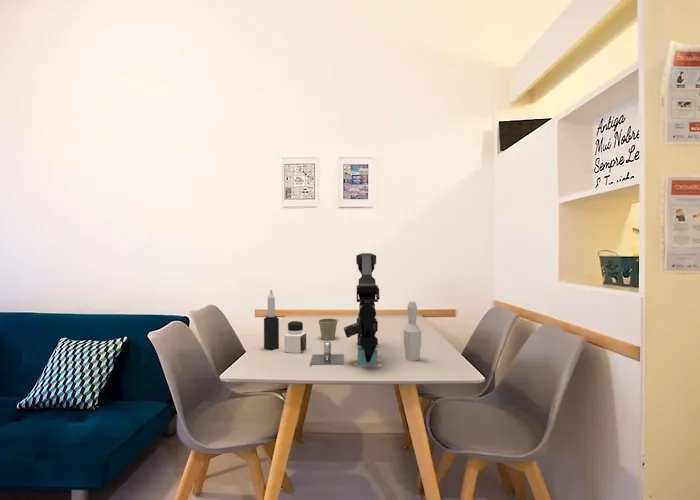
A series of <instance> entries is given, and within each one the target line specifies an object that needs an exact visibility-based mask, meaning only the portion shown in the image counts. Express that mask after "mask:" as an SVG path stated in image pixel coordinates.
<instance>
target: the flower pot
mask: <svg viewBox="0 0 700 500" xmlns="http://www.w3.org/2000/svg"><path fill="white" fill-rule="evenodd" d="M317 321H318V325H319V328H320V329H319V330H320V335H321V336H320V337H321V339H322V340H323V341H330V340H331V341H333V340H335V339H336V333H337V325H338V322H339V319H336V318H321V319H318V320H317Z"/></svg>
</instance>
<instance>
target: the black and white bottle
mask: <svg viewBox="0 0 700 500" xmlns="http://www.w3.org/2000/svg"><path fill="white" fill-rule="evenodd" d="M273 293H274V292H273V289H272V288H271V289H270V290H269V294H268V296H267V315H266V316H265V317H264V318H263V349H264V350H267V351H274V350H279V348H280V335H279V334H280V329H279V327H280V326H279V325H280V319H279V317H278V316H277V315H276V314H275V313H276V308H275V307H276V304H275V303H276V302H275V299H276V297H275V296H274V294H273Z"/></svg>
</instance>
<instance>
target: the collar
mask: <svg viewBox="0 0 700 500" xmlns="http://www.w3.org/2000/svg"><path fill="white" fill-rule="evenodd" d="M357 358H358V365H378V358H379V357H378V349H377V347H376V348H375V350H374V353H373V355H372V358H371V360H370V362H366V357H365V352H364V348H363V347H361V346H359V345H357Z"/></svg>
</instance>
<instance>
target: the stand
mask: <svg viewBox="0 0 700 500" xmlns="http://www.w3.org/2000/svg"><path fill="white" fill-rule="evenodd" d="M352 359H353V360H352V361H353V367H383V363H382V361H381V358H380V357H378V365H358V357H354V358H352Z"/></svg>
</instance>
